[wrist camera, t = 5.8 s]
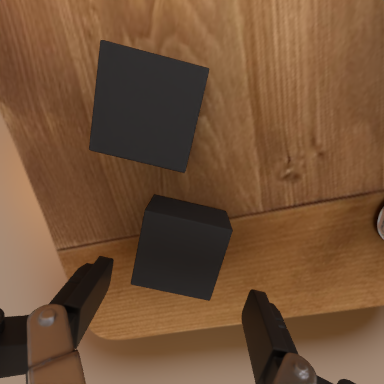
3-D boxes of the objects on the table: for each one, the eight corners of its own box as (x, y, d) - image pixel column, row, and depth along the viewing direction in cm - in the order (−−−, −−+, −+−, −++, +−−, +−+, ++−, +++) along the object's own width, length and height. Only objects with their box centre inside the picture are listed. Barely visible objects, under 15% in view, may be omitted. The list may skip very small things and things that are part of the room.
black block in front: (141, 257, 20) (130, 284, 16) (154, 193, 18) (144, 210, 15) (207, 271, 20) (210, 301, 17) (226, 210, 18) (233, 230, 15)
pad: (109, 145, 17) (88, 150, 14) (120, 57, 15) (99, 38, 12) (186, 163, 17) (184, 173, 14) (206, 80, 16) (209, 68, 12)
